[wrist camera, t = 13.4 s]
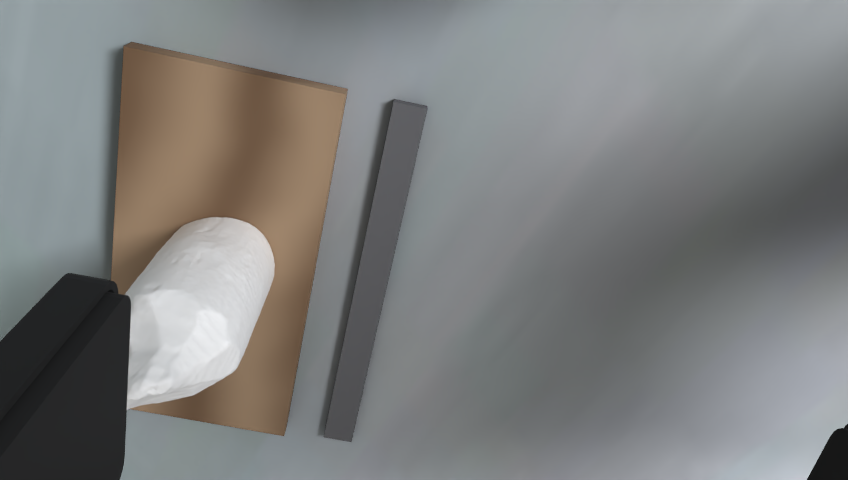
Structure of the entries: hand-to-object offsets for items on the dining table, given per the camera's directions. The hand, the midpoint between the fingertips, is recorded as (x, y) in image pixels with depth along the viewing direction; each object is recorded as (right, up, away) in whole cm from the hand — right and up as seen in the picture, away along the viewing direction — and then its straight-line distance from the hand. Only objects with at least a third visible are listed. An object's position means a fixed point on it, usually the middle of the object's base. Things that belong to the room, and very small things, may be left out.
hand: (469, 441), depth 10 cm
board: (-11, +2, +30) cm, 32 cm away
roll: (-11, +2, +29) cm, 31 cm away
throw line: (-3, 0, +30) cm, 30 cm away
